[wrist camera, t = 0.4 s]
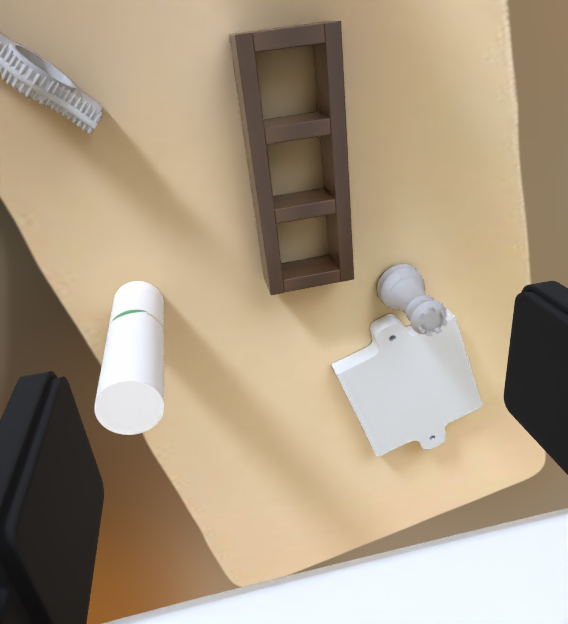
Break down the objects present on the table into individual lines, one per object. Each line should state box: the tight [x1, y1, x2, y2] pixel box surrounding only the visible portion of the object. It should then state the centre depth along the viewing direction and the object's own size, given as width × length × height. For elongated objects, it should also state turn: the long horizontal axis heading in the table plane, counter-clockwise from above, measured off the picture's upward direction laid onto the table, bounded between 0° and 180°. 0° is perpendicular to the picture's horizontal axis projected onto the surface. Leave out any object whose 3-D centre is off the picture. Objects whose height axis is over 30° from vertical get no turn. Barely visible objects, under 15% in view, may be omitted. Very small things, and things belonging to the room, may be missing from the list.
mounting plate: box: [331, 308, 483, 457], centre depth 56 cm, size 18×13×2 cm
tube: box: [94, 281, 164, 435], centre depth 40 cm, size 4×4×15 cm
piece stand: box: [229, 21, 354, 295], centre depth 42 cm, size 7×20×4 cm, turn 6°
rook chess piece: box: [377, 264, 448, 336], centre depth 48 cm, size 4×4×8 cm
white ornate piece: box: [0, 33, 103, 134], centre depth 34 cm, size 12×2×6 cm, turn 51°
